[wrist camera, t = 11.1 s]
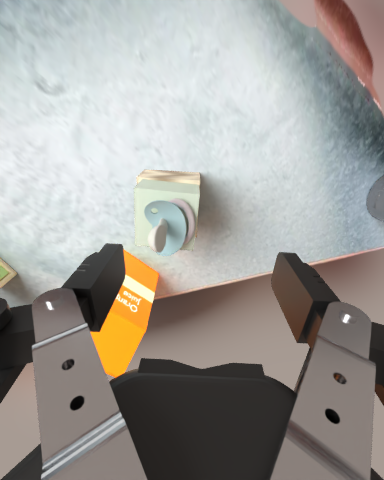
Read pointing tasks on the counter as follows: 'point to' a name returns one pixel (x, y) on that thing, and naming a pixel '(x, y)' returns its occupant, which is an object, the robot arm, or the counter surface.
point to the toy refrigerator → (5, 273)
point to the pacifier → (169, 225)
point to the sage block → (164, 191)
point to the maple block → (171, 178)
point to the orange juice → (126, 317)
